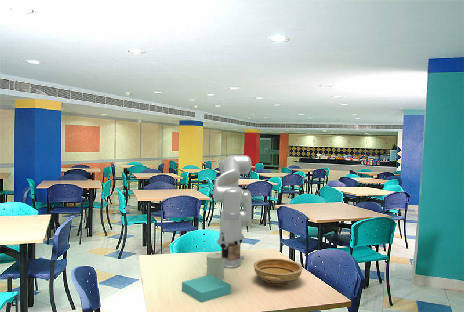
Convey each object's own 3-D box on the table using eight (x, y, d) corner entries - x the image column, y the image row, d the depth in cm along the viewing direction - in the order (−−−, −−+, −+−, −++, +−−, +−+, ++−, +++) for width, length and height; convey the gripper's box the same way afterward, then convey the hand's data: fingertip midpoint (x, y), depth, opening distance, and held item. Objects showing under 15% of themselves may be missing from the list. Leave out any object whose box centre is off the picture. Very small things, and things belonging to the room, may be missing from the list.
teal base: (210, 282, 177) (210, 274, 177) (230, 293, 165) (231, 284, 164) (181, 290, 167) (182, 281, 167) (201, 302, 154) (201, 293, 154)
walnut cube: (231, 255, 168) (231, 242, 168) (240, 258, 164) (240, 245, 163) (221, 257, 164) (221, 244, 164) (230, 261, 160) (230, 247, 160)
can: (226, 276, 187) (227, 253, 186) (220, 282, 178) (220, 258, 178) (210, 273, 190) (210, 251, 189) (203, 279, 181) (203, 255, 181)
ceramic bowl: (261, 269, 198) (261, 254, 198) (306, 275, 190) (306, 260, 190) (245, 288, 170) (245, 271, 170) (297, 296, 162) (297, 279, 162)
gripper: (240, 213, 172) (239, 250, 172) (211, 217, 161) (210, 257, 161) (251, 215, 166) (250, 254, 167) (221, 220, 155) (221, 261, 155)
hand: (230, 255), depth 164 cm, fingers closed on walnut cube, 6 cm apart
